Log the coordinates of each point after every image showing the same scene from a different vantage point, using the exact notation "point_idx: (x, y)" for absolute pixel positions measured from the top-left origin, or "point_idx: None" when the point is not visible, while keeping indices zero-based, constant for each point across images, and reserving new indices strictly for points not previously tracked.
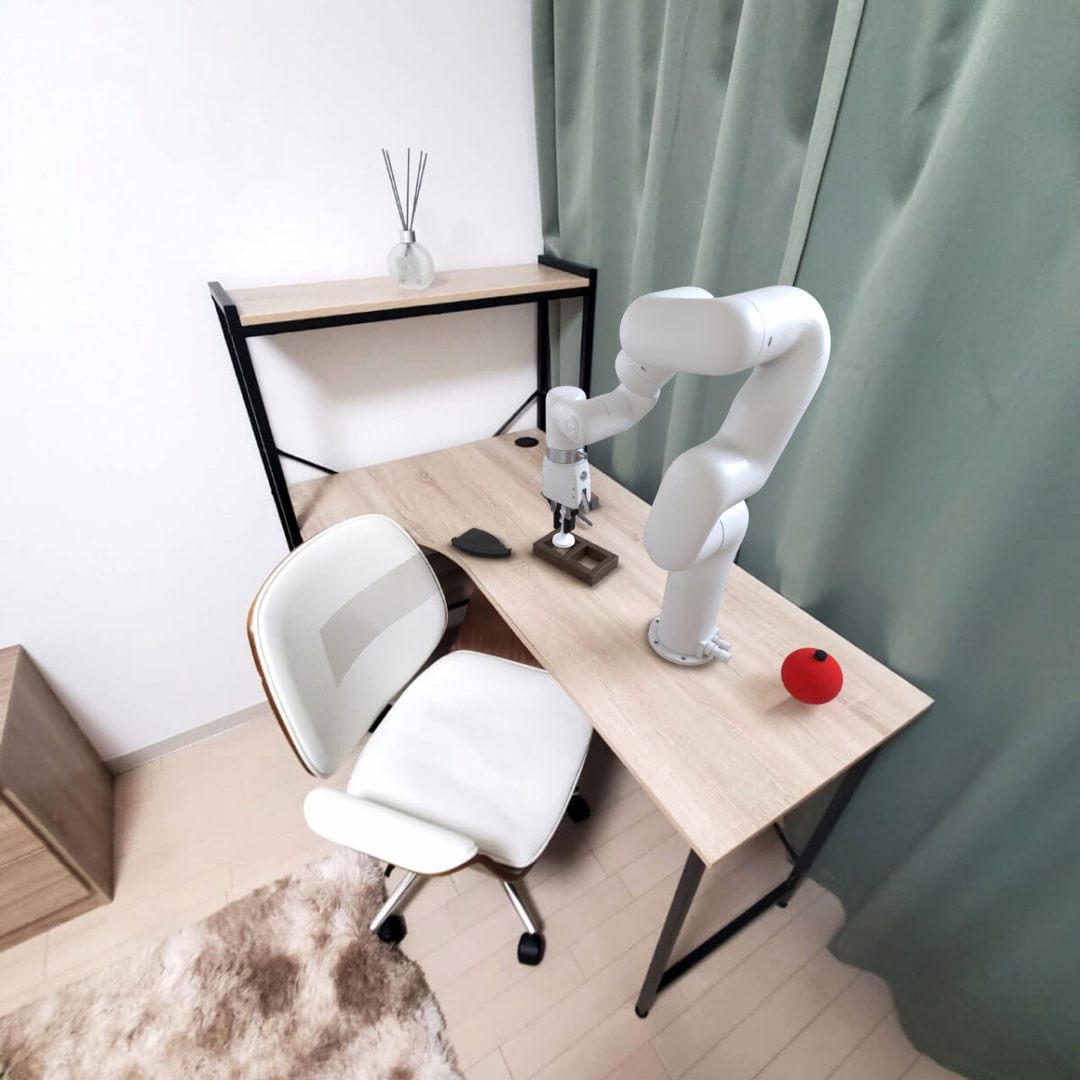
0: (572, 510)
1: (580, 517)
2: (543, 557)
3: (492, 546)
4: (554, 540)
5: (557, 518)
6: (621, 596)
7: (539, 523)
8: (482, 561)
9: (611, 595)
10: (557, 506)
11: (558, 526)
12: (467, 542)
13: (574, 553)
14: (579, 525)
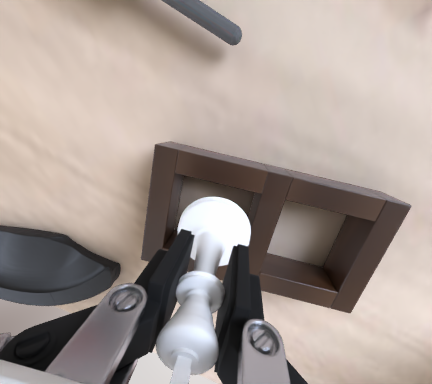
0: (238, 356)
1: (177, 9)
2: None
3: (68, 268)
4: (193, 258)
5: (169, 316)
6: (412, 286)
7: (83, 109)
8: (88, 299)
9: (387, 291)
10: (124, 355)
11: (185, 273)
12: (20, 278)
13: (266, 252)
14: (191, 43)
